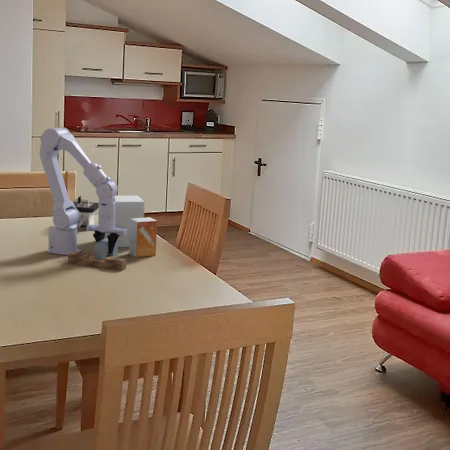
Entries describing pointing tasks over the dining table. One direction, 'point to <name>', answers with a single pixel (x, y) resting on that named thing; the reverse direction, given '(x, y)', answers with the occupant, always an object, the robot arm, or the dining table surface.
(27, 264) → the dining table surface
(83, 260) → the notched rail
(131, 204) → the supplement box
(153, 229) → the small box
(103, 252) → the plain blue-gray board
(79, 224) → the black-topped pedestal
